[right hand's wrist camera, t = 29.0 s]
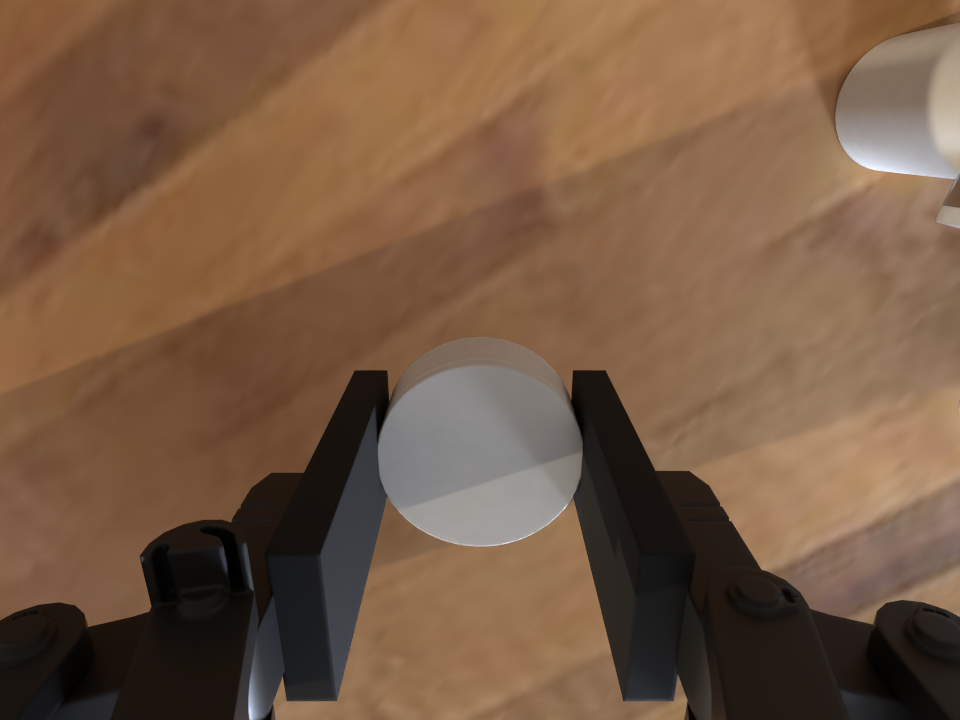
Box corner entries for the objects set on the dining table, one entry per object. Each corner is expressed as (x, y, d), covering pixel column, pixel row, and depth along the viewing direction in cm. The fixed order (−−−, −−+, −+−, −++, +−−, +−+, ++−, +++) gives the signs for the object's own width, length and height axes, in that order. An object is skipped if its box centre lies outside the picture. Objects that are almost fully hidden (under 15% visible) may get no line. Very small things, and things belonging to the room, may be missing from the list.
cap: (595, 470, 15) (610, 512, 14) (430, 523, 16) (424, 570, 14) (537, 308, 14) (545, 334, 12) (356, 373, 14) (341, 406, 13)
